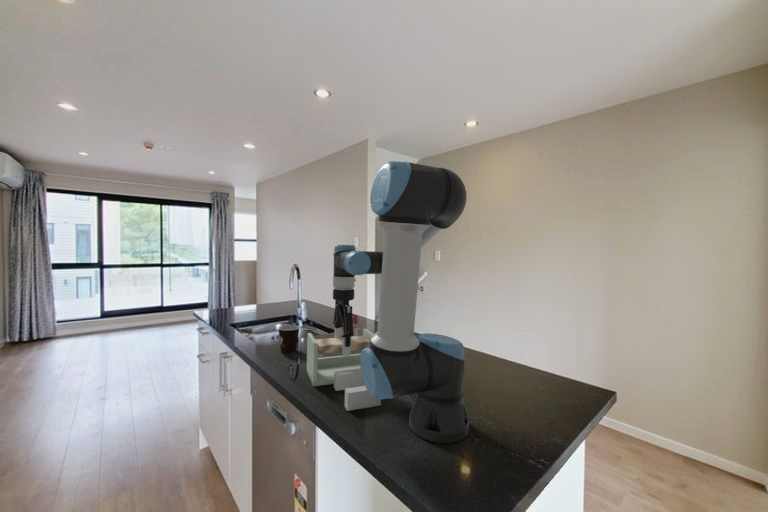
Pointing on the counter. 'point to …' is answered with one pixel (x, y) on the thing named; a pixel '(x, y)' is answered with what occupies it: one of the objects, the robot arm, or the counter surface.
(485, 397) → the counter surface
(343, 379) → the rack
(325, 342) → the stacked rolled towels
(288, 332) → the coffee mug
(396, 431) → the counter surface
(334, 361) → the shelf unit
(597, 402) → the counter surface
